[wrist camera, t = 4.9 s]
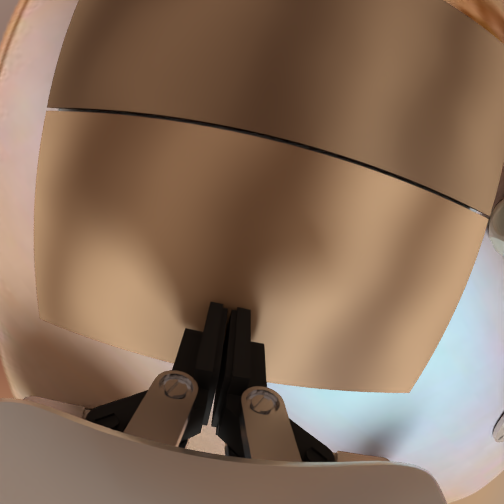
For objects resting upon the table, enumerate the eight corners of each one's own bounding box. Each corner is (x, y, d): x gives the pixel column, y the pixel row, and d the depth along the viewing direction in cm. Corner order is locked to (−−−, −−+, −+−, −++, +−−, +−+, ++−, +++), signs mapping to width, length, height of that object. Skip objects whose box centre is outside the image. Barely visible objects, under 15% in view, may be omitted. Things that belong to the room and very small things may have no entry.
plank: (469, 212, 12) (488, 219, 10) (399, 375, 15) (409, 392, 13) (65, 113, 11) (46, 110, 9) (54, 305, 14) (39, 318, 12)
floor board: (495, 57, 9) (514, 53, 7) (470, 208, 12) (489, 216, 10) (121, -47, 7) (109, -61, 6) (67, 108, 11) (46, 107, 9)
